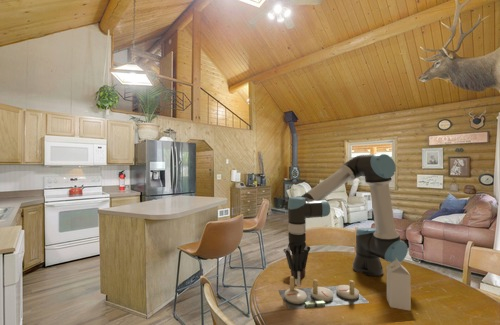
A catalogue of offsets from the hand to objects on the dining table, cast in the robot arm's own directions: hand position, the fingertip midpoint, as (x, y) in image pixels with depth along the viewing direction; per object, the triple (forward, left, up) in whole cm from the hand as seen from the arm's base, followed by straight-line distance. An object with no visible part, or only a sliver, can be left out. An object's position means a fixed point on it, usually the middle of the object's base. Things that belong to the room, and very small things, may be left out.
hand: (297, 285), depth 106 cm
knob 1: (+2, +4, -4) cm, 6 cm away
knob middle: (-10, +4, -4) cm, 11 cm away
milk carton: (-38, +14, -5) cm, 41 cm away
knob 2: (-22, +4, -4) cm, 22 cm away
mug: (-6, -16, -5) cm, 18 cm away
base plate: (-10, +4, -5) cm, 11 cm away
